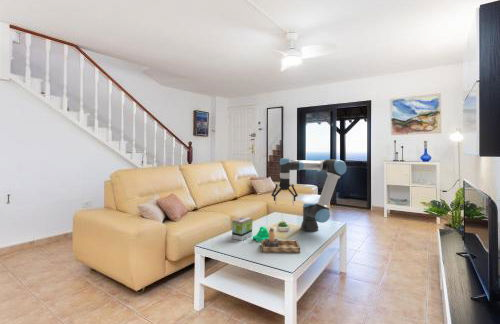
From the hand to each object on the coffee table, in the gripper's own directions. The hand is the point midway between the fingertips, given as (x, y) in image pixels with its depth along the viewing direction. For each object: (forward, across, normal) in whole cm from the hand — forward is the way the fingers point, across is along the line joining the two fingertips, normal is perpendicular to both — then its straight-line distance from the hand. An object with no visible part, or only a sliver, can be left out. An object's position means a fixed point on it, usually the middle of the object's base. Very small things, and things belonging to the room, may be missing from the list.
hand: (284, 205), depth 202 cm
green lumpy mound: (+27, +18, +3) cm, 33 cm away
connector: (+26, +11, +20) cm, 34 cm away
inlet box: (+27, +5, +20) cm, 34 cm away
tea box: (+27, +33, -3) cm, 43 cm away
